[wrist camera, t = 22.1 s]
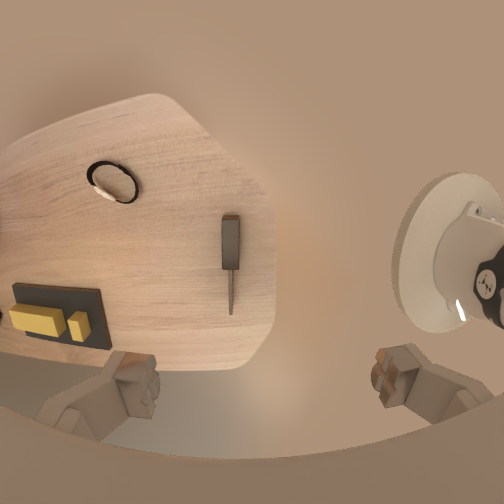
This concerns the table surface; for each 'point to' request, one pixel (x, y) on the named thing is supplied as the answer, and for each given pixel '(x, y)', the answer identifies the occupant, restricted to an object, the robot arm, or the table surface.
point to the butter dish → (68, 311)
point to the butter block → (38, 319)
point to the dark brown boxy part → (230, 250)
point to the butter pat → (79, 326)
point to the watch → (104, 193)
